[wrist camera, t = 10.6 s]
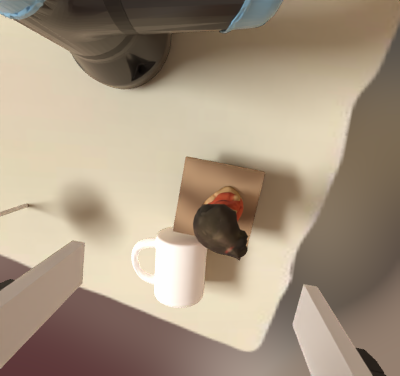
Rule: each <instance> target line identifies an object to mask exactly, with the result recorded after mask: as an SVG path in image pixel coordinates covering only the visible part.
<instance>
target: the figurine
mask: <svg viewBox="0 0 400 376" xmlns="http://www.w3.org/2000/svg"><path fill="white" fill-rule="evenodd" d="M243 209H244V208H243V200H242V198H241V196H240V194H239V192H238V191H237V190H236V189H234V188H233V187H231V186H225V187H223V188H221V189H219V190H218V191H217V192H215V193H214V194H213V195H211V196H210V197H209V198H208V199H207V200H206V201H205V202H204V203H203V204H202V206H201V207H200V208H199V209H198V210H197V212H196V214H195V216H194V220H193V230H194V234H195V237H196V239H197V240H198V241H199V242H200V243H201V244H202V245H203V246H204V247H206V248H208V249H210V250H212V251H214V252H216V253H219V254H223V255H228V256H232V257H235V258H237V259H238V260H240V258H241V257H242V256H244V255H245V254H246V252H247V246H246V244H247V242H248V241H247V238H248V235H247V234H246V232H245V231H243V230H241V229H240V228H239V225H238V222H237V221H238V220H239V218H240V217H241V215H242V212H243Z"/></svg>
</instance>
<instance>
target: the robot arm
mask: <svg viewBox="0 0 400 376" xmlns="http://www.w3.org/2000/svg"><path fill="white" fill-rule="evenodd" d="M282 2H283V0H0V14H1V15H3V16H5V17H8V18H10V19H14V20H15V21H17V22H19V23H21V24H22V25H24V26H26V27H28V28H29V29H31V30H33V31H35V32H37V33H38V34H40V35H42V36H44V37H45V38H47V39H49V40H51V41H52V42H54V43H56V44H58V45H60V46H61V47H63V48H65V49H67V50H68V51H70V53H71V54H72V56H73V57H74V59H75V61H76V62H77V64H78V65H79V66H80V67H81V68H82V70H83V71H84V72H86V73H87V74H88V75H89V76H90V77H92V78H93V79H95V80H97V81H99V82H101V83H103V84H105V85H107V86H110V87H114V88H119V89H128V88H134V87H137V86H140V85H142V84H144V83H146V82H148V81H149V80H150V79H152V78H153V77H154V76H155V75H156V74H157V73H158V72H159V70H160V69H161V68H162V66H163V64H164V63H165V61H166V58H167V56H168V53H169V49H170V44H171V33H182V32H202V31H220V33H228V32H230V31H231V30H237V29H247V28H256V27H259V26H262V25H264V24H265V23H266V22H267V21H268V20H269V19H271V18H272V17H273V16H274V15H275V13H276V12H277V10H278V9H279V7H280V5H281V4H282ZM84 247H85V243H83V242H78V241H71V242H70V243H68V244H67V245H65V246H64V247H63V248H61V249H60V250H58V251H57V252H55V253H54V254H52V255H51V256H50V257H48V258H47V259H45V260H44V261H42V262H41V263H39V264H38V265H37V266H35V267H34V268H32V269H31V270H29V271H28V272H27V273H25V274H24V275H22V276H21V277H19V278H18V279H16V280H11V279H10V280H7V281H4V282H2V283H0V369H1V367H2V366H3V365H4V364H5V363H6V362H7V361H8V360H9V359H10V358H11V357H12V356H13V355H14V354H15V353H16V352H17V351H18V350H19V349H20V348H21V346H23V345H24V343H25V342H26V341H27V340H28V339H29V338H30V337H31V336H32V335H33V334H34V333H35V332H36V331H37V330H38V329H39V328H40V327H41V326H42V325H43V323H45V322H46V321H47V319H48V318H49V317H50V316H51V315H52V314H53V313H54V312H55V311H56V310H57V309H58V308H59V307H60V306H61V305H62V304H63V303H64V302H65V301H66V300H67V299H68V298H69V297H70V295H71V294H72V293H73V292H74V291H75V290H76V289H77V288H78V287H79V286H80V285H81V284H82V280H83V263H84ZM293 328H294V330H295V333H296V336H297V339H298V341H299V344H300V346H301V349H302V352H303V354H304V358H305V360H306V363H307V365H308V368H309V371H310V373H311V376H386V375H384V372H383V370H382V369H381V367H380V366H379V364H378V363H377V361H376V360H375V359H374V358H373V357H372V356H371V355H369V354H368V353H367V352H366V351H365V350H364V349H359V348H355V347H354V345H353V343H352V342H351V340H350V339H349V337H348V335H347V334H346V332H345V331H344V329H343V328H342V326H341V324H340V323H339V321H338V319H337V318H336V316H335V315H334V313H333V312H332V310H331V308H330V307H329V305H328V303H327V302H326V300H325V299H324V297H323V295H322V294H321V293H320V291H319V289H318V287H315V286H310V285H303V289H302V292H301V296H300V300H299V303H298V307H297V311H296V314H295V318H294V321H293Z"/></svg>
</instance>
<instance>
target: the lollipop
mask: <svg viewBox="0 0 400 376" xmlns="http://www.w3.org/2000/svg"><path fill="white" fill-rule="evenodd" d="M26 207H28V205H27V204H23V205H20V206H17V207H14V208H11V209H8V210H5V211H2V212H0V216H3V215H6V214H9V213H12V212H14V211H17V210H20V209H23V208H26Z"/></svg>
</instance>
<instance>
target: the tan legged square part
mask: <svg viewBox="0 0 400 376" xmlns="http://www.w3.org/2000/svg"><path fill="white" fill-rule="evenodd" d="M264 176H265V172H263V171H258V170H253V169H248V168H243V167H238V166H233V165H228V164H223V163H218V162H212V161H207V160H202V159H197V158H192V157H186V159H185V165H184V171H183V176H182V182H181V188H180V193H179V199H178V205H177V211H176V216H175V222H174V228H173V231H174V232H178V233H183V234H188V235H192V236H195V234H194V230H193V220H194V216H195V214H196V212H197V210H198V209H199V208H200V207H201V206H202V204H203V203H204V202H205V201H206V200H207V199H208V198H209V197H210V196H211V195H213V194H214V193H215V192H217V191H218V190H219V189H221V188H223V187H225V186H231V187H233V188H234V189H236V190H237V191H238V192H239V194H240V196H241V198H242V200H243V208H244V209H243V212H242V215H241V217H240V218H239V220H238V221H237V222H238V225H239V228H240V229H241V230H243V231H245V232H246V234H247V235H248V238H247V241H249V237H250V233H251V229H252V225H253V221H254V217H255V212H256V208H257V204H258V200H259V196H260V192H261V188H262V184H263V180H264ZM247 245H248V242H247V244H246V246H247Z"/></svg>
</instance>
